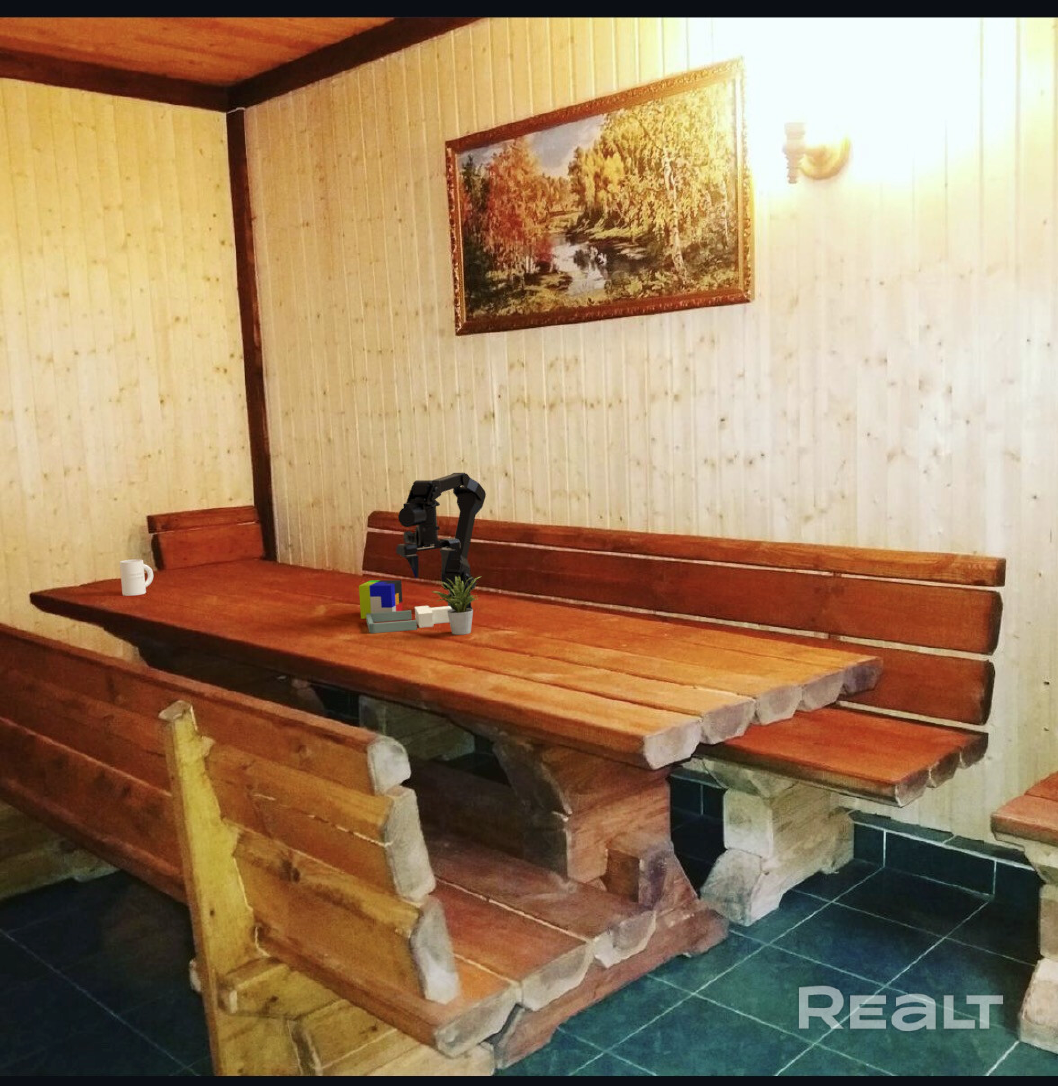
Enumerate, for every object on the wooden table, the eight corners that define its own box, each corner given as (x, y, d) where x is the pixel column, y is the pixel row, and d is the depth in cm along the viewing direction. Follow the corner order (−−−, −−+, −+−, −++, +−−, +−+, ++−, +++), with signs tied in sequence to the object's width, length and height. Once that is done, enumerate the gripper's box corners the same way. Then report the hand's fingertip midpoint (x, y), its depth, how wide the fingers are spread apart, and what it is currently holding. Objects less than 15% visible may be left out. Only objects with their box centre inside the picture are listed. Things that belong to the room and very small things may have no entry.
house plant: (466, 624, 317) (463, 568, 315) (499, 630, 307) (496, 571, 305) (427, 633, 307) (424, 574, 305) (460, 639, 297) (457, 579, 295)
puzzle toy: (392, 618, 332) (390, 585, 330) (360, 618, 334) (358, 585, 333) (403, 612, 341) (401, 580, 340) (372, 612, 343) (370, 580, 342)
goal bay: (411, 618, 330) (410, 610, 330) (417, 629, 313) (416, 620, 313) (366, 622, 328) (366, 613, 327) (369, 633, 311) (369, 624, 310)
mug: (160, 591, 404) (157, 558, 402) (130, 596, 395) (127, 563, 393) (148, 589, 409) (145, 557, 408) (118, 594, 400) (115, 561, 399)
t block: (449, 616, 329) (448, 603, 329) (454, 624, 318) (453, 610, 317) (415, 620, 328) (414, 606, 327) (419, 627, 316) (418, 614, 315)
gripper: (441, 517, 337) (444, 568, 339) (386, 524, 327) (389, 576, 329) (460, 520, 328) (463, 572, 330) (403, 527, 318) (407, 581, 320)
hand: (430, 575), depth 327 cm, fingers open, 9 cm apart
